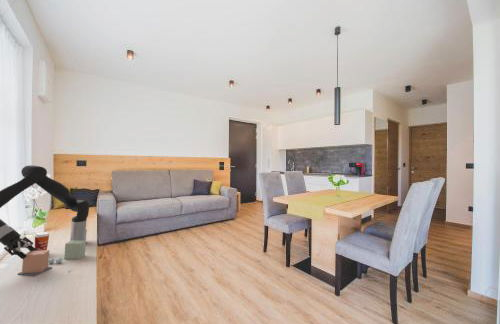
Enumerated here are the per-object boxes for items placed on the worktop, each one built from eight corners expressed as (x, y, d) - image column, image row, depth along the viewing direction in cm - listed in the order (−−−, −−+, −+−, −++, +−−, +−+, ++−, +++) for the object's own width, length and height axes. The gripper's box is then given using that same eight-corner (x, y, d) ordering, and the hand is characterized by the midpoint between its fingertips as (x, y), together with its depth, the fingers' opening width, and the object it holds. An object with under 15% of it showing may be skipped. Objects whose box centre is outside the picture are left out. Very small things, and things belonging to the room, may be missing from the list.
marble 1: (51, 262, 138) (51, 257, 139) (55, 262, 138) (56, 257, 138) (46, 264, 135) (46, 259, 136) (51, 264, 135) (51, 259, 135)
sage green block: (64, 259, 144) (65, 243, 144) (70, 255, 150) (71, 240, 150) (79, 259, 145) (80, 243, 145) (84, 255, 151) (85, 240, 151)
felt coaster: (36, 266, 132) (36, 265, 132) (52, 267, 131) (52, 266, 131) (17, 274, 122) (17, 273, 122) (34, 276, 121) (34, 275, 121)
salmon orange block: (21, 273, 122) (23, 254, 123) (29, 268, 128) (30, 250, 128) (41, 271, 125) (43, 254, 125) (48, 267, 131) (49, 250, 131)
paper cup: (38, 257, 144) (40, 235, 144) (29, 255, 145) (31, 234, 146) (51, 253, 152) (53, 232, 152) (42, 251, 153) (44, 231, 153)
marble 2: (58, 261, 140) (59, 256, 140) (63, 262, 139) (63, 257, 139) (54, 263, 137) (54, 258, 137) (58, 264, 136) (59, 259, 136)
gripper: (2, 233, 117) (27, 254, 120) (21, 226, 131) (43, 245, 133) (-12, 244, 115) (14, 265, 118) (9, 235, 129) (32, 254, 132)
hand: (30, 254), depth 126 cm, fingers open, 8 cm apart
